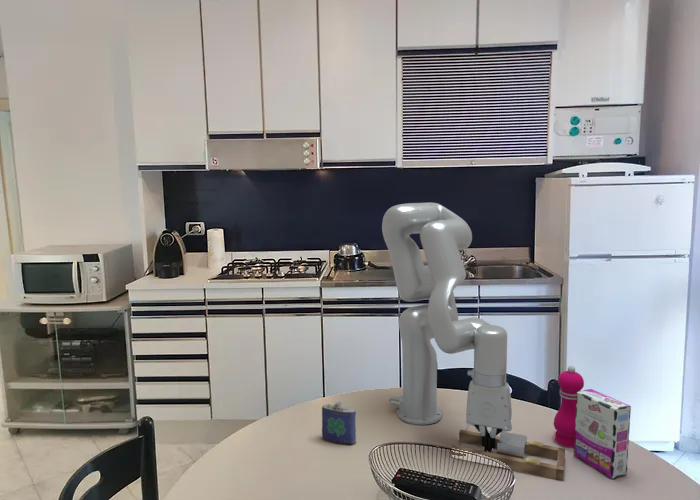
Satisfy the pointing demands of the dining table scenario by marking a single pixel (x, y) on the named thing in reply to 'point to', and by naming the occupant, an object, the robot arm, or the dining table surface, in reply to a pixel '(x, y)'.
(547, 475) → the track
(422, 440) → the dining table surface
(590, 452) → the candy bar box
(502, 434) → the block
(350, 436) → the flask
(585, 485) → the dining table surface
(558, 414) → the pepper mill
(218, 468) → the dining table surface
